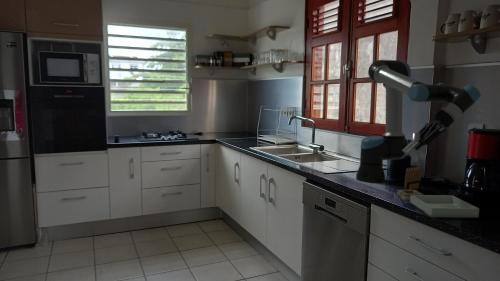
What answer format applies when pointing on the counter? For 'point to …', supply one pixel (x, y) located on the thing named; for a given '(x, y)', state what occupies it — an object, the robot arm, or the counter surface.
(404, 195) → the pin dock
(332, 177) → the counter surface
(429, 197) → the tray
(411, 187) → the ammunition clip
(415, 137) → the lock pin
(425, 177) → the counter surface
